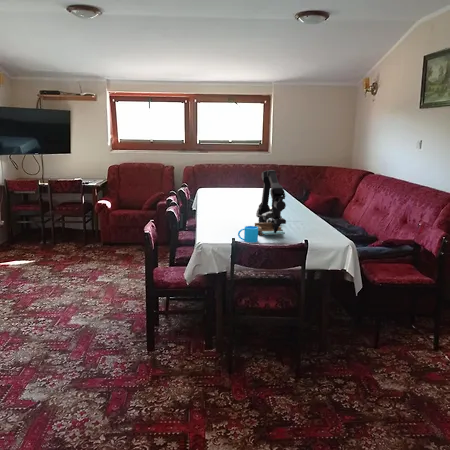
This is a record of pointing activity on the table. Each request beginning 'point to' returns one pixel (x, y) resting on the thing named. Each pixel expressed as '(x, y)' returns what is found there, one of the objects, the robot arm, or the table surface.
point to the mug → (250, 234)
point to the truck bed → (266, 228)
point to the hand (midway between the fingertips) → (275, 232)
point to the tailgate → (272, 232)
